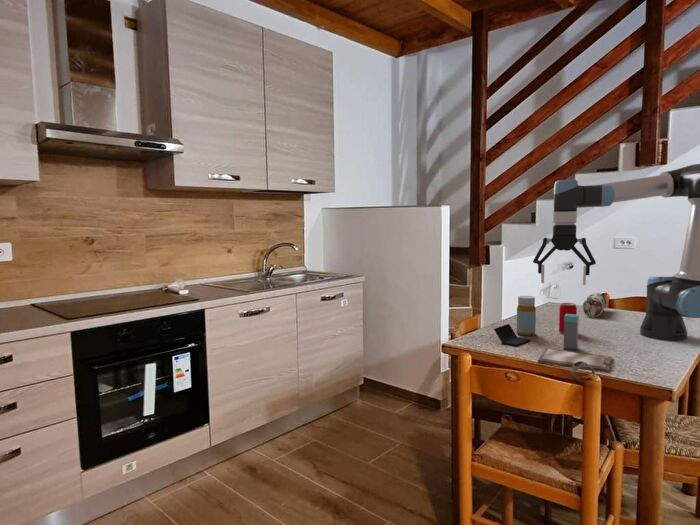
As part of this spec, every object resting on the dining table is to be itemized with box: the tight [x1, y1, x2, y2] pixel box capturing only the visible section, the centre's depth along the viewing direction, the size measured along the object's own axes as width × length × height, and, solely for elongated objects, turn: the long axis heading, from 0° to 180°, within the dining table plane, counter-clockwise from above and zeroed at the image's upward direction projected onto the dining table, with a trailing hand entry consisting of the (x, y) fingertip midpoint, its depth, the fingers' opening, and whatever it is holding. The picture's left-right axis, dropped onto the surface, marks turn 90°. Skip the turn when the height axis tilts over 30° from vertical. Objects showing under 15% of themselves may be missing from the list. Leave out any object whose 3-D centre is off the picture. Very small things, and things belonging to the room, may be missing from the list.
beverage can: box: [558, 302, 578, 335], centre depth 184 cm, size 6×6×12 cm
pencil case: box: [582, 291, 608, 319], centre depth 219 cm, size 22×8×10 cm, turn 147°
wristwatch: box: [570, 361, 596, 380], centre depth 133 cm, size 4×6×5 cm, turn 85°
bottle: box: [516, 295, 537, 337], centre depth 183 cm, size 7×7×15 cm
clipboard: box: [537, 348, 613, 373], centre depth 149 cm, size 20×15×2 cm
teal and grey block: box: [563, 314, 580, 352], centre depth 162 cm, size 4×4×12 cm
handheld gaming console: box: [493, 323, 531, 348], centre depth 173 cm, size 12×7×10 cm
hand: (563, 283), depth 165 cm, fingers open, 13 cm apart
